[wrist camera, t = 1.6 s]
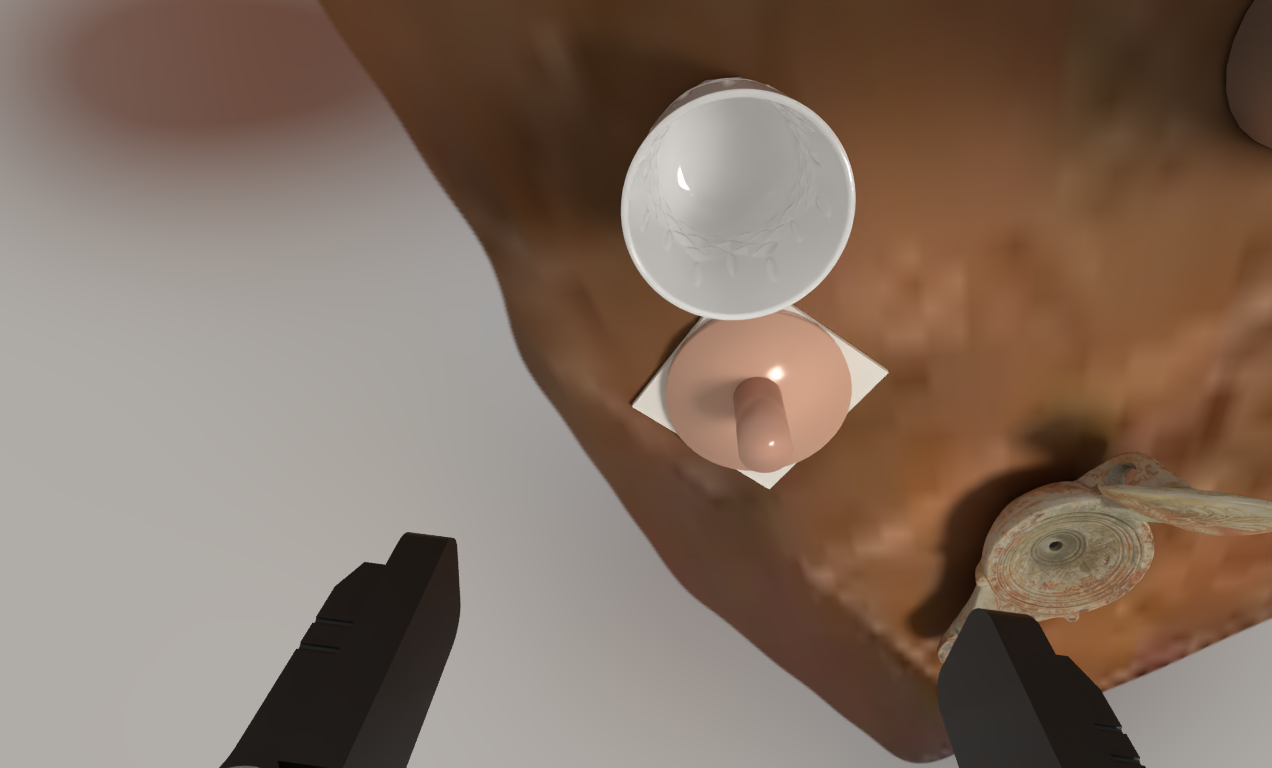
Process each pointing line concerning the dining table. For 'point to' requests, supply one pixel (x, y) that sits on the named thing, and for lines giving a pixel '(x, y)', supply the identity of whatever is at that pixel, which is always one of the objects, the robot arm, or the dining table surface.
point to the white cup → (737, 201)
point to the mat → (862, 380)
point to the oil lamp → (1093, 539)
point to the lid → (758, 391)
